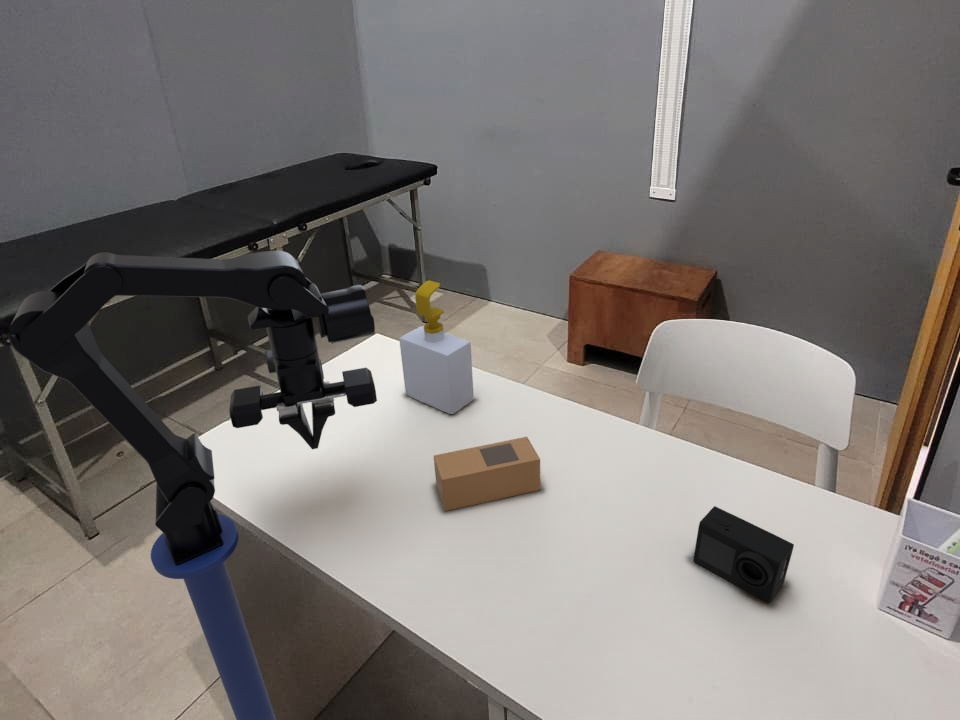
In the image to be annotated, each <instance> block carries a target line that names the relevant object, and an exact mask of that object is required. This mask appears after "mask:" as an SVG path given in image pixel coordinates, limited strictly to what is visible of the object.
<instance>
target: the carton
mask: <svg viewBox="0 0 960 720" xmlns="http://www.w3.org/2000/svg"><path fill="white" fill-rule="evenodd" d="M433 467H434V474H435V485H436V489H437V492H438V495H439V498H440V501H441V504H442V506H443V507H442V508H443V509H444V512H447V511H452V510H457V509H461V508H465V507H470V506H474V505H478V504H484V503H488V502H493V501H497V500H501V499H506V498H511V497H515V496H520V495H525V494H529V493H533V492H538V491H540V490H541V457H540V456H539V455H538V453H537V451H536V449H535V448H534V445H533V444H532V442H531V441H530V439H529V437H528V436H523V437H518V438H512V439H508V440H504V441H498V442H493V443H487V444H483V445H479V446H473V447H468V448H464V449H459V450H453V451H449V452H444V453H439V454H435V455H433Z"/></svg>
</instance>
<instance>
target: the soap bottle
mask: <svg viewBox="0 0 960 720" xmlns="http://www.w3.org/2000/svg"><path fill="white" fill-rule="evenodd" d="M440 287H441V283H439V282H437V281H433V280H430V279H429V280H426V281H425V282H424V283H423V284H421V286H419V287H418V288H417V289H416V291H415V295H414V299H415V307H416V308H415V309H416V313H417V314H418V315H420V316H423V317H424V320H425V321H427V323H425V324H424V325H421V326H418V327H416V328H415V329H413V330H411V331H409V332H407V333H405V334H403V335H401V336H400V337H399V350H400V356H401V365H402V374H403V375H402V376H403V382H404V392H405V394H406V396H408V397H409V398H412V399H415V400H417V401H419V402H421V403H423V404H426V405H428V406H431V407H433V408H435V409H437V410H440V411H441V412H444V413H446V414H448V415H454V414H455V413H458V412H459V411H460V410H461V409H463V408H464V407H466V406H467V405H468V404H470V403H471V402H473V400H474V381H473V380H474V379H473V361H472V345H471V342H470V341H469V340H467V339H464V338H461V337H458V336H455V335H453V334H450V333H446V332H444V324H443V323H441V322H439V320H440V319H441V315H443V314H444V313H445V310H444V309H442V308H439V307H436V306H431V297H432V295H433V294H434V293H435V292H436V291H437V290H438V289H439V288H440Z"/></svg>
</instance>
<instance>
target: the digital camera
mask: <svg viewBox="0 0 960 720" xmlns="http://www.w3.org/2000/svg"><path fill="white" fill-rule="evenodd" d="M695 541H696V542H695V548H694V553H693V559H692V561H693V562H694V563H696V564H697V565H699V566H701V567H703V568H705V569H706V570H708V571H710V572H711V573H714V574H715V575H717V576H719V577H721V578H722V579H724V580H726V581H728V582H729V583H732V584H733V585H735V586H737V587H739V588H740V589H743V590H744V591H746V592H748V593H750V594H751V595H754V596H755V597H757V598H759V599H760V600H763V601H764V602H766V603H768V604H771V602H772V601H773V599H774V598H775V596H776V595H777V594H778V592H779V590H781V588H782V586H783V585H784V584H785V579H786V577H787V573H788V569H789V565H790V562H791V559H792V555H793V551H794V546H795V544H794V543H792V542H790V541H788V540H786V539H784V538H782V537H780V536H778V535H776V534H774V533H771V532H770V531H767V530H765V529H764V528H763V527H759V526H757V525H755V524H753V523H751V522H749V521H748V520H745V519H743V518H742V517H741V518H740V517H739V516H737V515H736V514H735V515H734V514H733V513H731V512H728V511H726V510H724V509H722V508H719V507H718V506H716V505H714V506H713V507H712V508H711V509H710V510H709V511H708V512H707V514H706V515H704V516H703V518H702V519H701V520H700V521H699V524H698V528H697V535H696V540H695Z"/></svg>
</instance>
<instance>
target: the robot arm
mask: <svg viewBox="0 0 960 720" xmlns="http://www.w3.org/2000/svg"><path fill="white" fill-rule="evenodd" d="M366 293H367V292H366V289H365V288H364V287H363V285H361V284H356V285H352V286H349V287H347V288H343V289H338V290H334V291H328V292H323V293H321V291H320V290H319V288H318V286H317V285H316V283H313V282H312V281H311V280H310V279H308V278H307V277H306V276H305V273H304V271H303V269H302V268H301V266H300V264H299V262H298V260H297V259H296V258H295V257H294V256H293V255H291V254H290V253H289V252H287V251H283V250H268V251H258V252H251V253H247V254H243V255H240V256H236V257H233V258H223V259H222V258H221V259H220V258H219V259H218V258H198V257H197V258H196V257H195V258H194V257H174V256H173V257H172V256H154V255H153V256H152V255H151V256H150V255H147V256H146V255H130V254H129V255H128V254H115V253H112V252H107V251H105V252H98V253H96V254H93V255H92V256H91V257H90V258H89V259H88V260H87V261H86V262H85V263H84V264H83V265H82V266H80V267H79V268H77V269H75V270H74V271H72V272H70V273H69V274H68V275H65V276H64V277H63V278H62V279H61V280H59V281H58V282H57V283H56V284H55V285H53V286H52V287H51V288H50V289H49V290H43V291H42V290H41V291H36V292H34V293H31V294H29V295H28V296H26V298H24V299H23V301H22V302H21V304H20V306H19V307H18V310H17V312H16V314H15V316H14V317H13V320H12V322H11V324H10V326H9V330H8V342H9V343H10V345H11V347H12V348H13V350H14V351H15V352H17V354H19V355H20V356H21V357H24V359H26V360H27V361H29V362H30V363H31V364H32V365H34V366H35V367H37V368H38V369H39V370H41V371H43V372H44V373H47V374H49V375H52V376H55V377H57V378H60V379H62V380H64V381H66V382H68V383H69V384H70V385H71V386H72V387H73V388H74V389H75V390H76V391H77V392H78V393H79V394H80V395H81V396H82V397H83V398H84V399H85V400H86V401H87V402H88V403H89V404H90V405H91V406H92V407H93V408H94V409H95V411H97V412H98V413H99V414H100V416H101V417H103V418H104V419H105V420H106V422H107V423H108V424H109V425H110V426H111V427H112V428H113V429H114V430H115V431H116V432H117V433H118V434H119V435H120V436H121V437H122V439H124V440H125V441H126V442H127V443H128V444H129V445H130V446H131V447H132V448H133V449H134V451H135V452H136V453H138V455H140V457H141V458H142V459H143V460H144V461H145V462H146V463H147V465H148V467H149V469H150V471H151V474H152V476H153V479H154V480H155V483H156V486H155V526H156V527H157V529H158V530H159V531H161V532H162V533H164V535H165V541H166V543H167V546H168V548H169V551H170V553H171V556H172V558H173V561H174V563H175V565H177V566H178V565H181V564H183V563H185V562H187V561H190V560H192V559H194V558H196V557H198V556H201V555H203V554H205V553H207V552H210V551H212V550H214V549H216V548H218V547H221V546H222V545H223V544H224V542H223V539H222V537H221V535H220V534H221V533H222V532H223V530H222V527H221V524H220V521H219V518H218V514H219V513H218V512H217V509H216V508H215V506H214V504H213V501H212V500H213V498H214V496H215V493H216V487H215V468H214V461H213V459H214V458H213V450H212V449H210V448H208V447H207V446H205V445H204V444H203V443H202V442H201V440H200V438H199V436H198V435H197V433H196V432H195V433H192V434H191V435H189V436H188V437H187V438H184V437H182V436H180V435H178V434H175V433H174V432H173V431H172V430H171V429H170V428H169V427H168V425H166V423H164V421H163V420H162V419H161V418H160V417H159V416H158V414H156V413H155V412H154V410H153V409H152V408H151V407H150V406H149V405H148V404H147V402H146V401H145V400H144V399H143V398H142V397H141V396H140V395H139V394H138V392H136V390H135V389H134V388H133V387H132V386H131V385H130V383H129V382H128V381H127V380H126V379H125V378H124V377H123V376H122V374H120V373H119V371H118V370H117V369H116V368H115V367H114V366H113V365H112V364H111V362H110V361H109V360H108V359H107V358H106V357H105V356H104V355H103V353H102V351H101V350H100V347H99V346H98V345H99V344H98V343H97V341H96V338H95V336H94V334H93V331H92V329H91V327H90V324H89V322H90V321H91V320H92V319H93V318H94V317H95V316H96V315H97V314H98V312H99V311H100V310H102V308H103V307H104V306H105V305H106V304H107V303H108V302H109V301H111V300H112V299H113V298H115V297H119V296H120V297H123V296H124V297H163V298H165V297H167V298H168V297H169V298H171V297H172V298H173V297H174V298H218V299H219V298H221V299H230V300H234V301H238V302H241V303H243V304H246V305H249V306H251V307H255V308H254V309H253V310H252V311H250V313H249V314H248V315H247V321H248V325H249V329H250V330H251V331H257V330H262V329H266V333H267V338H268V342H269V347H270V349H266V350H264V351H265V359H266V366H267V371H268V373H269V374H276V378H277V382H278V386H279V391H277V392H271V393H267V394H265V393H264V391H263V387H262V386H261V385H255V386H248V387H242V388H237V389H233V391H232V393H231V394H230V400H229V409H228V411H229V418H230V421H231V426H232V427H233V428H235V429H241V428H247V427H252V426H258V425H259V424H260V423H261V421H262V420H263V418H264V416H263V412H262V411H265V410H271V409H276V411H277V412H278V423H279V424H280V425H281V426H282V425H283V426H285V425H288V426H289V427H290V428H291V429H292V430H293V431H295V432H296V434H298V435H299V436H300V437H301V439H303V441H304V442H305V443H306V444H307V445H308V447H309V448H310V449H311V450H315V449H319V445H320V443H321V442H320V441H321V437H322V433H323V429H324V428H325V426H326V423H327V420H328V418H330V417H333V416H335V415H336V407H335V399H336V398H341V397H346V401H347V404H348V405H349V406H351V407H353V408H358V407H361V406H362V407H363V406H368V405H373V404H375V403H377V401H378V398H377V393H376V392H377V391H376V386H375V380H374V377H373V374H372V370H370V369H369V368H368V367H361V368H355V369H348V370H343V371H341V373H342V380H343V381H336V382H331V381H330V380H326V381H325V380H324V379H325V375H324V369H323V364H322V359H320V354H319V348H318V343H317V339H316V338H317V337H316V332H315V328H314V322H313V319H314V318H315V320H316V325H317V329H318V333H319V336H320V338H321V339H325V338H327V342H328V343H331V344H332V345H333V344H338V343H343V342H346V341H353V340H356V339H360V338H364V337H370V336H374V335H375V333H376V330H375V329H376V326H375V317H374V316H373V313H372V311H371V308H370V304H369V301H368V299H367V294H366ZM307 403H311V423H312V429H311V426H310V424H309V421H308V418H307V415H306V412H305V409H304V404H307ZM178 561H179V562H178Z"/></svg>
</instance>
